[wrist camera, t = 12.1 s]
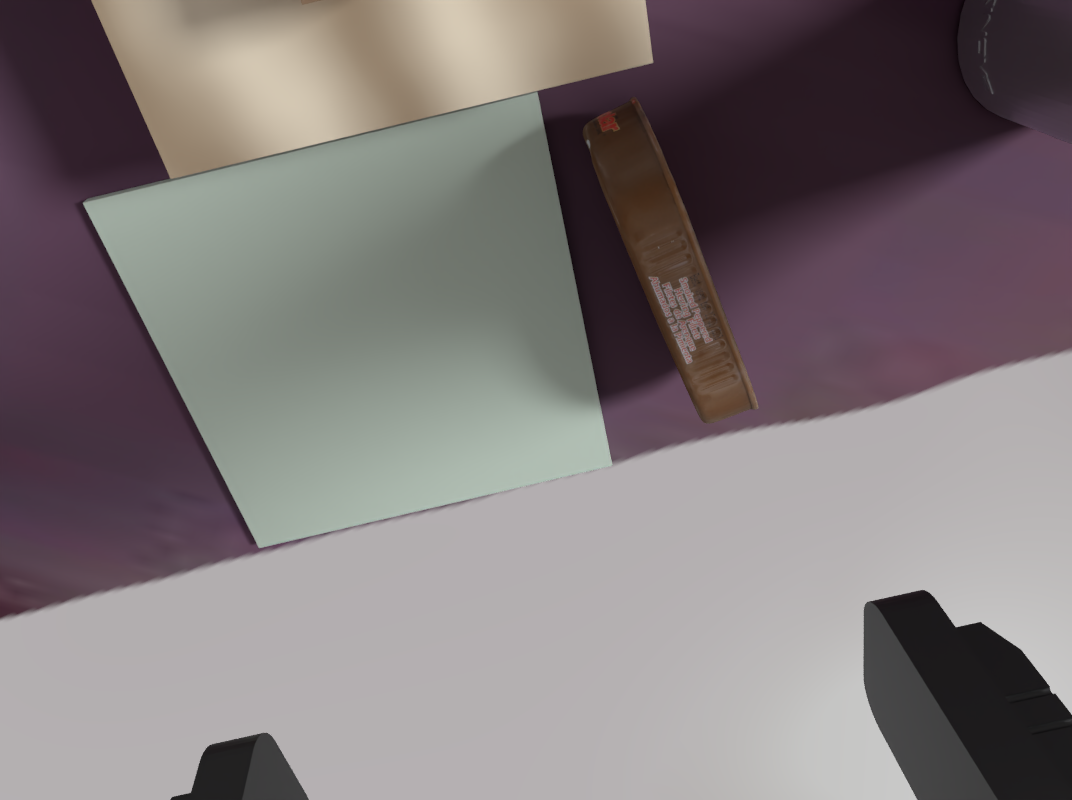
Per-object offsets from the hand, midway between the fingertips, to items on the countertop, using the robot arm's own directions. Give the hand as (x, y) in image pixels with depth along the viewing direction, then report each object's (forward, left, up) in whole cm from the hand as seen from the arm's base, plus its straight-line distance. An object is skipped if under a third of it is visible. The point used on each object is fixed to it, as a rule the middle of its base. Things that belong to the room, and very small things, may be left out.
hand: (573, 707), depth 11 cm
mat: (+7, +8, -30) cm, 32 cm away
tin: (-7, +6, -30) cm, 32 cm away
